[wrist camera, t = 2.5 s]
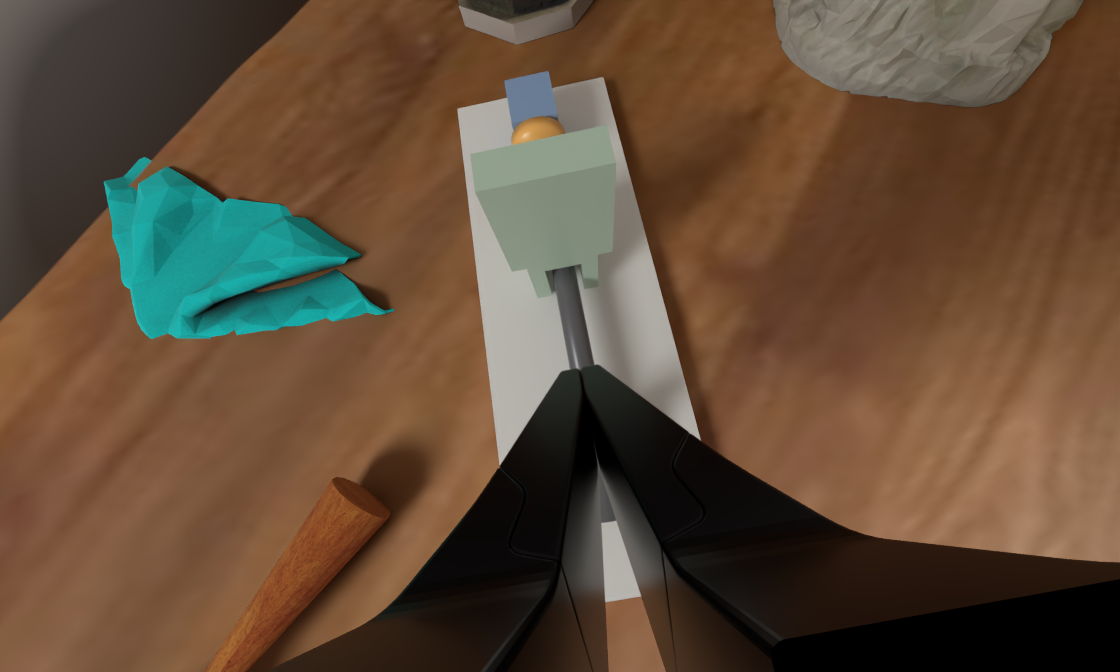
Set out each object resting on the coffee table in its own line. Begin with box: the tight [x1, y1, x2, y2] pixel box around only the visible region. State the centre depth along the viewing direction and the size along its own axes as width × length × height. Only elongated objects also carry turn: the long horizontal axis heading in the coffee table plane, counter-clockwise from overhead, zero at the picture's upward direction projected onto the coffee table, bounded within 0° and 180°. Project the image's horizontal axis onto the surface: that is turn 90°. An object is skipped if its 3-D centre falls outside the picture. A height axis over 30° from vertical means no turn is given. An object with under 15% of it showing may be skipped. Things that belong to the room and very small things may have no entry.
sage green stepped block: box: [470, 125, 616, 298], centre depth 19 cm, size 4×5×10 cm
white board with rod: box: [458, 71, 701, 602], centre depth 22 cm, size 30×10×5 cm, turn 10°
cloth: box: [104, 157, 394, 339], centre depth 28 cm, size 26×14×2 cm, turn 53°
